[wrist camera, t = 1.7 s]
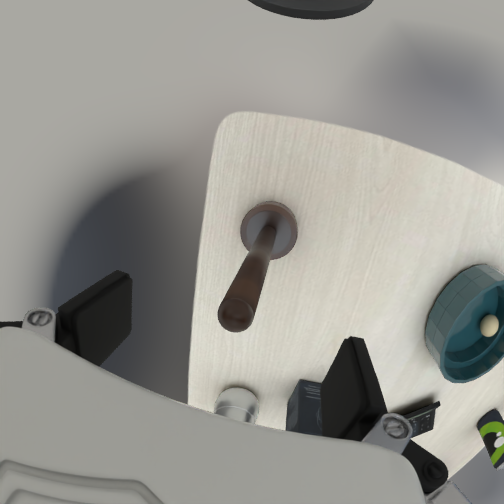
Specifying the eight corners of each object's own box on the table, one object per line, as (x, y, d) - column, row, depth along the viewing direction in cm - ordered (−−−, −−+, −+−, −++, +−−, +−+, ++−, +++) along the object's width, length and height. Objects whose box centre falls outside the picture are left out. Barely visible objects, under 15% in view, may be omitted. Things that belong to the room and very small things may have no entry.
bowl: (453, 250, 26) (479, 266, 21) (515, 276, 25) (538, 292, 20) (405, 352, 31) (419, 380, 26) (472, 361, 30) (487, 383, 24)
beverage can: (492, 419, 34) (512, 462, 19) (473, 430, 35) (491, 475, 21) (500, 404, 32) (523, 448, 18) (480, 415, 33) (502, 462, 19)
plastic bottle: (267, 389, 36) (244, 512, 17) (253, 414, 38) (229, 522, 19) (224, 376, 36) (181, 495, 17) (215, 402, 39) (176, 507, 20)
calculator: (387, 442, 37) (390, 454, 35) (384, 411, 35) (387, 425, 32) (431, 426, 35) (435, 436, 32) (435, 391, 33) (440, 403, 30)
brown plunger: (251, 195, 28) (176, 243, 10) (303, 209, 28) (318, 281, 10) (239, 245, 30) (166, 351, 12) (289, 258, 30) (278, 385, 12)
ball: (483, 309, 27) (494, 319, 24) (494, 312, 27) (505, 322, 24) (473, 328, 28) (483, 339, 25) (485, 330, 28) (494, 341, 25)
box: (287, 402, 36) (281, 458, 26) (299, 377, 35) (297, 438, 25) (334, 410, 36) (338, 465, 26) (350, 387, 34) (359, 444, 24)
